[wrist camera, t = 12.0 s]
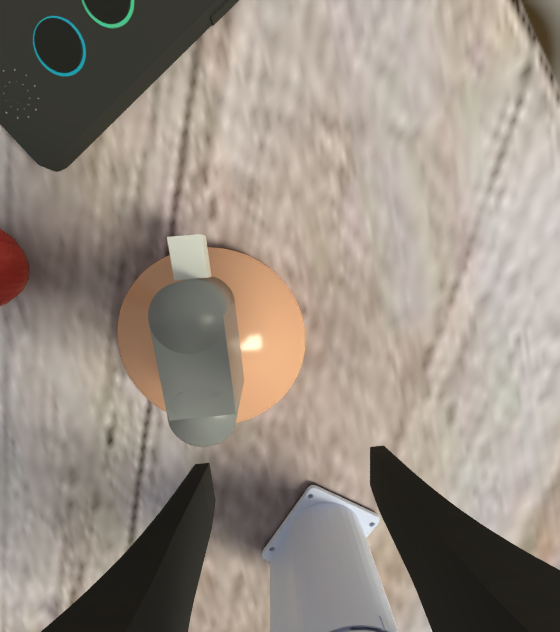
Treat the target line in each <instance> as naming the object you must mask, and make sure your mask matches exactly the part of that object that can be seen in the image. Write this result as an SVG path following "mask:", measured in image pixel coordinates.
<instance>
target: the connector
mask: <svg viewBox="0 0 560 632" xmlns="http://www.w3.org/2000/svg"><path fill="white" fill-rule="evenodd" d="M167 241H168V247H169V253H170V259H171V264H172V270H173V276H174V280H184V281H180V282H176V283H173V284H170V285H167V286H165V287H164V288H162V289H161V290H160V291H158V292H157V293H156V295H155V296H154V297H153V299H152V301H151V303H150V306H149V310H148V321H149V327H150V332H151V337H152V342H153V347H154V352H155V357H156V362H157V367H158V372H159V377H160V382H161V387H162V392H163V397H164V402H165V407H166V412H167V417H168V422H169V425H170V427H171V429H172V431H173V432H174V434H175V435H176V436H177V437H178V438H179V439H181V440H182V441H184V442H186V443H188V444H190V445H194V446H199V447H207V446H213V445H216V444H218V443H220V442H222V441H224V440H225V439H226V438H227V437H229V435H230V434H231V433H232V431H233V430H234V427H235V424H236V419H237V414H238V409H239V404H240V399H241V394H242V389H243V384H244V374H243V365H242V357H241V349H240V340H239V332H238V324H237V315H236V307H235V300H234V296H233V293H232V291H231V289H230V288H229V287H228V285H227V284H226V283H224V282H223V281H222V280H220V279H218V278H216V277H212V276H211V270H210V263H209V256H208V248H207V241H206V236H205V235H203V234H198V235H185V236H173V237H167ZM186 279H188V280H186Z"/></svg>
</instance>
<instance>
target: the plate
mask: <svg viewBox="0 0 560 632" xmlns="http://www.w3.org/2000/svg"><path fill="white" fill-rule="evenodd" d="M207 248H208V256H209V263H210V270H211V276H212V277H216V278H218V279H220V280H222V281H223V282H224V283H226V284H227V285H228V287H229V288H230V289H231V291H232V293H233V296H234V300H235V307H236V315H237V324H238V332H239V340H240V349H241V357H242V365H243V374H244V384H243V389H242V394H241V399H240V404H239V409H238V414H237V419H236V422H241V421H244V420H247V419H250V418H252V417H255V416H257V415H259V414H261V413H262V412H264V411H266V410H267V409H269V408H270V407H272V406H273V405H274V404H275V403H277V402H278V401H279V400H280V399H281V398H282V397H283V396H284V395H285V394H286V392H287V391H288V390H289V388H290V387H291V386H292V384H293V382H294V381H295V379H296V377H297V375H298V373H299V370H300V368H301V365H302V361H303V357H304V352H305V328H304V322H303V318H302V315H301V312H300V308H299V306H298V304H297V302H296V300H295V298H294V296H293V295H292V293H291V291H290V290H289V288H288V287H287V285H286V284H285V283H284V282H283V281H282V279H281V278H280V277H279V276H278V275H277V274H276V273H275V272H273V271H272V270H271V269H270V268H269V267H267V266H266V265H264V264H263V263H262V262H260V261H258V260H256V259H254V258H252V257H250V256H248V255H246V254H243V253H240V252H237V251H233V250H228V249H224V248H214V247H207ZM186 280H188V279H186ZM180 281H184V280H174V276H173V270H172V264H171V259H170V255H168V256H166V257H164V258H162V259H160V260H158V261H157V262H155V263H154V264H153V265H151V266H150V267H148V268H147V269H146V270H145V271H144V272H143V273H142V274H141V275H140V276H139V277H138V278H137V279H136V281H135V282H134V283H133V285H132V286H131V287H130V289H129V291H128V293H127V294H126V296H125V299H124V301H123V304H122V306H121V309H120V314H119V318H118V328H117V336H118V346H119V351H120V356H121V358H122V361H123V364H124V367H125V369H126V371H127V373H128V375H129V377H130V378H131V380H132V381H133V383H134V384H135V386H136V387H137V388H138V389H139V390H140V391H141V393H142V394H143V395H144V396H145V397H146V398H147V399H149V400H150V401H151V402H152V403H153V404H155V405H156V406H157V407H159V408H160V409H162V410H163V411H165V412H166V407H165V402H164V397H163V392H162V387H161V382H160V377H159V372H158V367H157V362H156V357H155V352H154V347H153V342H152V337H151V332H150V327H149V321H148V310H149V306H150V303H151V301H152V299H153V297H154V296H155V295H156V293H157V292H158V291H160V290H161V289H162V288H164V287H165V286H167V285H170V284H173V283H176V282H180Z"/></svg>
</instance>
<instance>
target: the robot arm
mask: <svg viewBox="0 0 560 632" xmlns="http://www.w3.org/2000/svg"><path fill="white" fill-rule="evenodd" d="M370 486H371V489H372V492H373V495H374V497H375V500H376V503H377V506H378V508H379V511H380V513H381V515H382V518H383V520H384V522H385V524H386V526H387V528H388V530H389V532H390V535H391V537H392V539H393V541H394V543H395V545H396V547H397V549H398V551H399V553H400V555H401V558H402V560H403V562H404V564H405V566H406V568H407V570H408V572H409V574H410V577H411V579H412V581H413V583H414V586H415V588H416V590H417V593H418V595H419V598H420V600H421V603H422V606H423V608H424V611H425V613H426V616H427V618H428V621H429V623H430V626H431V629H432V631H433V632H560V570H558V569H556V568H555V567H553V566H551V565H549V564H547V563H545V562H544V561H542V560H540V559H538V558H536V557H534V556H533V555H531V554H529V553H527V552H526V551H524V550H522V549H520V548H519V547H517V546H515V545H514V544H512V543H510V542H509V541H507V540H506V539H504V538H502V537H501V536H499V535H497V534H496V533H494V532H493V531H491V530H489V529H488V528H486V527H485V526H483V525H482V524H480V523H479V522H477V521H476V520H474V519H473V518H471V517H470V516H469V515H467V514H466V513H464V512H463V511H461V510H460V509H459V508H457V507H456V506H454V505H453V504H452V503H450V502H449V501H448V500H447V499H445V498H444V497H443V496H441V495H440V494H439V493H438V492H436V491H435V490H434V489H433V488H431V487H430V486H429V485H428V484H426V483H425V482H424V481H423V480H422V479H421V478H419V477H418V476H417V475H416V474H415V473H414V472H412V471H411V470H410V469H409V468H408V467H407V466H406V465H405V464H403V463H402V462H401V461H400V460H399V459H398V458H397V457H396V456H395V455H393V454H392V453H391V452H390V451H389V450H388V449H387V448H386V447H385V446H376V447H370ZM309 494H311V495H309ZM214 507H215V495H214V489H213V483H212V477H211V471H210V464H209V463H204V464H195V465H194V467H193V468H192V469H191V471H190V472H189V474H188V475H187V476H186V478H185V479H184V481H183V482H182V483H181V485H180V486H179V488H178V489H177V490H176V492H175V493H174V494H173V496H172V497H171V498H170V500H169V501H168V502H167V504H166V505H165V506H164V508H163V509H162V510H161V511H160V513H159V514H158V515H157V516H156V518H155V519H154V520H153V521H152V522H151V524H150V525H149V526H148V527H147V529H146V530H145V531H144V532H143V533H142V535H141V536H140V537H139V538H138V539H137V540H136V541H135V543H134V544H133V545H132V546H131V547H130V548H129V549H128V550H127V551H126V552H125V553H124V555H123V556H122V557H121V558H120V559H119V560H118V561H117V562H116V563H115V564H114V565H113V566H112V567H111V568H110V569H109V570H108V571H107V572H106V573H105V574H104V575H103V576H102V577H101V578H100V579H99V580H98V581H97V582H96V583H95V584H94V585H93V586H92V587H91V588H90V589H89V590H88V591H87V592H85V593H84V594H83V595H82V596H81V597H80V598H79V599H78V600H77V601H76V602H74V603H73V604H72V605H71V606H70V607H69V608H68V609H67V610H66V611H64V612H63V613H62V614H61V615H60V616H59V617H57V618H56V619H55V620H54V621H53V622H52V623H51V624H49V625H48V626H47V627H46V628H45V629H43V630H42V631H41V632H188V628H189V622H190V616H191V611H192V607H193V602H194V598H195V594H196V590H197V586H198V581H199V577H200V573H201V569H202V565H203V561H204V557H205V553H206V549H207V545H208V541H209V537H210V533H211V528H212V522H213V515H214ZM379 521H380V518H379V516H378V514H376V513H374V512H372V511H370V510H368V509H366V508H364V507H361V506H359V505H357V504H355V503H353V502H351V501H348V500H346V499H344V498H342V497H340V496H338V495H336V494H333V493H331V492H329V491H327V490H325V489H323V488H321V487H318V486H316V485H310V486H309V487H308V488H307V490H306V491H305V492H304V494H303V495H302V497H301V498H300V499H299V501H298V502H297V503H296V505H295V506H294V508H293V509H292V510H291V512H290V513H289V515H288V516H287V517H286V519H285V520H284V522H283V523H282V524H281V526H280V527H279V529H278V530H277V531H276V533H275V534H274V536H273V537H272V538H271V540H270V541H269V542H268V544H267V545H266V547H265V548H264V549H263V551H262V558H263V559H264V560H267V561H269V562H270V632H399V631H398V628H397V625H396V622H395V619H394V616H393V613H392V611H391V608H390V605H389V602H388V599H387V596H386V593H385V591H384V588H383V585H382V582H381V579H380V576H379V573H378V571H377V568H376V565H375V562H374V559H373V556H372V553H371V551H370V548H369V545H368V542H367V539H366V538H367V536H368V535H369V534H370V533H371V531H372V530H373V529H374V528H375V526H376V525H377V524H378V523H379Z"/></svg>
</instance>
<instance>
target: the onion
mask: <svg viewBox="0 0 560 632" xmlns="http://www.w3.org/2000/svg"><path fill="white" fill-rule="evenodd" d="M28 279H29V264H28V262H27V259H26V256H25V254H24V252H23V250H22V249H21V248H20V246H19V245H18V244H17V242H16V241H15V240H14V239H13V238H12V237H11V236H9V235H8V234H7V233H5V232H4V231H3V230H1V229H0V306H1V305H4V304H6V303H8V302H9V301H10V300H12V299H13V298H14V297H16V296H17V295H18V294H19V293H20V292H21V291H22V290H23V289H24V287H25V285H26V283H27V281H28Z"/></svg>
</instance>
